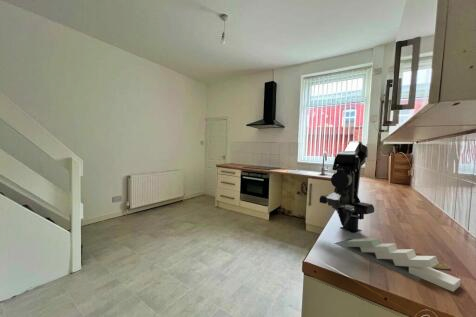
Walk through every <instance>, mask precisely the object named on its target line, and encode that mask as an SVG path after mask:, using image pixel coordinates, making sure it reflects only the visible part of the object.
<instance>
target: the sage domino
mask: <svg viewBox="0 0 476 317" xmlns="http://www.w3.org/2000/svg"><path fill="white" fill-rule="evenodd" d="M379 244H382V243H381V240H380V238H378V237H377V238H374V237H373V238H372V237H371V238H353V240H350V241H347V245H348V247H374V246H377V245H379Z"/></svg>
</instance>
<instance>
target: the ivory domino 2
mask: <svg viewBox="0 0 476 317" xmlns="http://www.w3.org/2000/svg"><path fill="white" fill-rule="evenodd" d="M397 249H398V248H397ZM415 253H416V252H415V250H414V249H413V248H411V249H408V248H407V249H406V248H405V249H402V248H401V249H398V250H395V251H393V252H390V253H378V252H375V255H376V257H377V259H405V260H409V259H411V258H413V257H415V256H416V254H415Z"/></svg>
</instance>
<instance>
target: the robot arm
mask: <svg viewBox="0 0 476 317" xmlns="http://www.w3.org/2000/svg"><path fill="white" fill-rule="evenodd" d="M368 157H369V149H368V146H367V145H365V144H363V142H362V141H360V140H352V141H351V140H350V141H348V144H347V146H346V148H345V150H341V151H339V152H338V153H337V154H336V155H335V157H334V160H333V164H332V171H336V172H334V173H333V174H332V176H331V178H330V182H331V185H332V186H333V187H334V191H333V192H331V193H329V194H323V195H320V197H319V198H318V199H319V203H321V204H323V205H324V204H325V205H326V204H327V205H328V206H329V207H330V206H331V208H332V209H334V210H335V211H336V214H337V215H338V217H339V220H340V221H339V222H340V223H341V227H340V226H339V229H341V230H344V231H346V232H348V233H351V234H356V233H360V232H362V231H363V230H362V229H359V220H361V221H362V220H364V219H365V215H370V214H373V213H375V207H374V205H373V204H372V203H367V202H364V201H363V202H361V200H360V198H359V188H360V181H361V180H360V179H361V171H362V166H363V165H364V164H366V160H367V159H368Z"/></svg>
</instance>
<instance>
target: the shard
mask: <svg viewBox="0 0 476 317" xmlns="http://www.w3.org/2000/svg"><path fill="white" fill-rule="evenodd" d="M415 254H416V256H425V255H423V254H421V253H417V252H415ZM437 260H438V262H439V263H438V264H437V265H435V266H434V267H432V268H433V269H443V270H450V269H451V266H449V265H448V264H446V263H445V262H443V261H442V260H440V259H437ZM430 268H431V267H430Z"/></svg>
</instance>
